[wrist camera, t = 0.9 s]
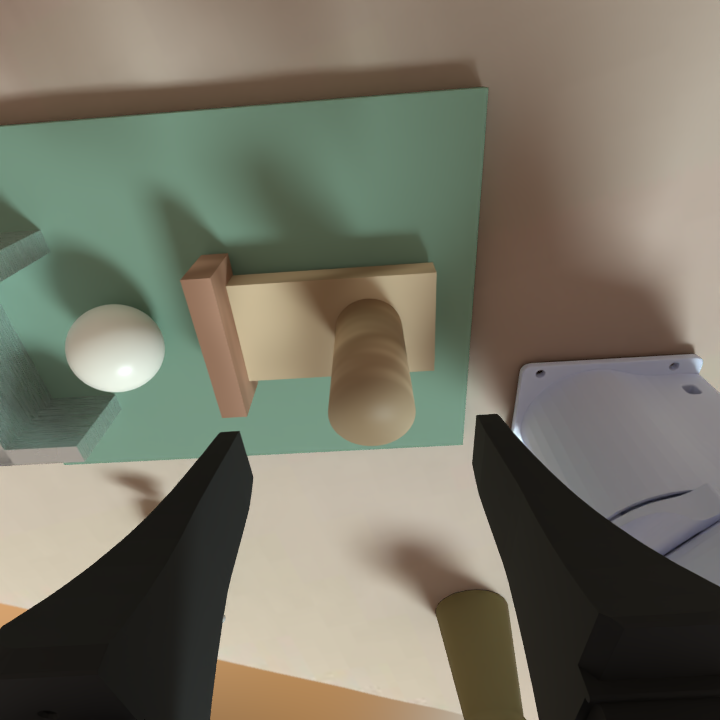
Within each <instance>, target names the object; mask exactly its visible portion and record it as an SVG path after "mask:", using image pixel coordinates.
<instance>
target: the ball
mask: <svg viewBox="0 0 720 720" xmlns="http://www.w3.org/2000/svg"><path fill="white" fill-rule="evenodd" d="M65 354H66V358H67V362H68V364H69V366H70V368H71V370H72V371H73V372H74V374H75V375H76V376H77V377H78V378H79V379H80V380H81V381H83V382H84V383H85V384H87V385H89V386H91V387H93V388H95V389H98V390H101V391H106V392H125V391H130V390H133V389H136V388H138V387H140V386H142V385H144V384H145V383H147V382H148V381H149V380H151V379H152V378H153V377H154V376H155V374H156V373H157V372H158V370H159V369H160V367H161V365H162V362H163V359H164V355H165V343H164V339H163V335H162V333H161V331H160V329H159V327H158V326H157V324H156V323H155V322H154V321H153V320H152V319H151V318H150V317H149V316H148V315H147V314H145V313H144V312H142V311H140V310H138V309H136V308H133V307H130V306H126V305H120V304H109V305H102V306H99V307H95V308H93V309H91V310H89V311H87V312H85V313H84V314H82V315H81V316H80V317H79V318H78V319H77V320H76V321H75V322H74V323H73V325H72V326H71V328H70V329H69V331H68V334H67V337H66V341H65Z"/></svg>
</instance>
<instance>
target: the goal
mask: <svg viewBox="0 0 720 720" xmlns="http://www.w3.org/2000/svg"><path fill="white" fill-rule="evenodd" d="M48 253H50V250H49V247H48V245H47V243H46V241H45V239H44V236H43V234H42V232H41V230H32V231H18V232H4V233H0V282H1V281H3V280H5V279H6V278H8V277H10V276H11V275H13V274H15V273H16V272H18V271H20V270H21V269H23V268H25V267H27V266H28V265H30V264H32V263H33V262H35V261H37V260H38V259H40V258H42V257H43V256H45V255H47V254H48ZM121 409H122V408H121V406H120V404H119V402H118V400H117V397H116V395H101V396H83V397H65V398H52V396H51V394H50V393H49V391H48V389H47V387H46V385H45V383H44V382H43V380H42V378H41V376H40V374H39V373H38V371H37V369H36V367H35V365H34V363H33V362H32V360H31V358H30V356H29V354H28V353H27V351H26V349H25V347H24V345H23V343H22V342H21V340H20V338H19V336H18V334H17V333H16V331H15V329H14V327H13V325H12V324H11V322H10V320H9V318H8V316H7V314H6V313H5V311H4V309H3V307H2V305H1V304H0V466H11V465H31V464H51V463H70V462H85V461H86V460H87V458H88V457H89V455H90V454H91V452H92V451H93V450H94V448H95V447H96V445H97V444H98V442H99V441H100V440H101V438H102V437H103V435H104V434H105V432H106V431H107V430H108V428H109V427H110V425H111V424H112V422H113V421H114V420H115V418H116V417H117V415H118V414H119V412H120V411H121Z"/></svg>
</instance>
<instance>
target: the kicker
mask: <svg viewBox="0 0 720 720" xmlns="http://www.w3.org/2000/svg"><path fill="white" fill-rule="evenodd" d="M436 278H437V272H436V270H435V267H434V264H433V262H430V263H414V264H399V265H384V266H369V267H354V268H338V269H323V270H308V271H293V272H278V273H263V274H247V275H233V273H232V268H231V264H230V260H229V256H228V253H225V254H210V255H201V256H200V257H199V258H198V259H197V261H196V262H195V263H194V264H193V265H192V267H191V268H190V269H189V270H188V271H187V272H186V274H185V275H184V276H183V277H182V278H181V279H180V282H181V285H182V288H183V292H184V295H185V298H186V301H187V305H188V308H189V311H190V315H191V318H192V321H193V324H194V328H195V331H196V334H197V338H198V341H199V344H200V347H201V351H202V354H203V357H204V361H205V364H206V367H207V370H208V374H209V377H210V380H211V384H212V387H213V390H214V393H215V397H216V400H217V403H218V407H219V410H220V413H221V416H222V418H233V417H247V415H248V412H249V409H250V406H251V403H252V400H253V397H254V394H255V391H256V388H257V385H258V381H260V380H277V379H295V378H313V377H330V376H331V384H330V395H329V406H328V418H329V421H330V424H331V426H332V427H333V429H334V430H335V431H336V433H337V434H339V435H340V436H341V437H342V438H344V439H345V440H347V441H349V442H352V443H355V444H358V445H363V446H380V445H385V444H388V443H391V442H393V441H395V440H397V439H399V438H400V437H402V436H403V435H404V434H405V433H407V431H408V430H409V429H410V428H411V426H412V424H413V422H414V419H415V414H416V409H415V402H414V396H413V390H412V383H411V377H410V372H418V371H434V362H435V320H436Z"/></svg>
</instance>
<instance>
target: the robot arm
mask: <svg viewBox="0 0 720 720" xmlns="http://www.w3.org/2000/svg"><path fill="white" fill-rule="evenodd" d="M672 363H674V364H673V365H672V366H670V365H671V364H672ZM702 365H703V360H702V359H701V358H700V357H699V356H698V355H696V354H684V355H667V356H649V357H631V358H614V359H596V360H579V361H561V362H543V363H529V364H526V365H524V366H523V367H522V368H521V370H520V374H519V381H518V388H517V395H516V401H515V408H514V415H513V422H512V428H511V429H510V428H509V427H508V425H507V424H506V423H505V422H504V421H503V420H502V418H501V417H500V416H499V415H498V414H488V415H476V426H475V438H474V449H473V460H472V465H473V470H474V474H475V479H476V484H477V488H478V492H479V496H480V499H481V502H482V505H483V508H484V511H485V514H486V516H487V519H488V522H489V525H490V528H491V531H492V533H493V536H494V539H495V542H496V545H497V548H498V550H499V553H500V556H501V559H502V562H503V565H504V568H505V572H506V575H507V578H508V582H509V586H510V590H511V594H512V598H513V602H514V607H515V611H516V615H517V619H518V624H519V628H520V632H521V636H522V641H523V645H524V650H525V654H526V659H527V664H528V668H529V673H530V678H531V682H532V687H533V692H534V697H535V702H536V707H537V712H538V717H539V720H720V393H719V392H718V391H717V390H716V389H715V388H714V387H713V386H711V385H710V384H709V383H708V382H707V381H706V380H705V379H704V378H703V377H701V376H700V375H699V372H700V370H701V367H702ZM539 370H543V371H542V372H541V373H539V374H536V372H538V371H539ZM252 484H253V474H252V471H251V468H250V464H249V461H248V457H247V454H246V451H245V447H244V444H243V440H242V437H241V434H240V431H229V432H220V433H219V434H218V435H217V436H216V437H215V439H214V440H213V441H212V442H211V444H210V445H209V446H208V447H207V449H206V450H205V451H204V452H203V454H202V455H201V456H200V457H199V459H198V460H197V461H196V462H195V464H194V465H193V466H192V467H191V468H190V470H189V471H188V472H187V473H186V474H185V476H184V477H183V478H182V479H181V480H180V482H179V483H178V484H177V485H176V486H175V487H174V489H173V490H172V491H171V492H170V493H169V494H168V495H167V496H166V497H165V498H164V499H163V501H162V502H161V503H160V504H159V505H158V506H157V507H156V508H155V509H154V510H153V511H152V512H151V513H150V514H149V515H148V516H147V517H146V518H145V519H144V520H143V521H142V522H141V523H140V524H139V525H138V526H137V527H136V528H135V529H134V530H133V531H132V532H131V533H130V534H128V535H127V536H126V537H125V538H124V539H123V540H122V541H121V542H119V543H118V544H117V545H116V546H115V547H113V548H112V549H111V550H110V551H108V552H107V553H106V554H105V555H104V556H102V557H101V558H100V559H99V560H98V561H96V562H95V563H94V564H93V565H91V566H90V567H89V568H88V569H86V570H85V571H84V572H82V573H81V574H80V575H78V576H77V577H76V578H74V579H73V580H71V581H70V582H69V583H67V584H66V585H64V586H63V587H62V588H60V589H59V590H57V591H56V592H55V593H53V594H52V595H50V596H49V597H47V598H46V599H44V600H43V601H41V602H40V603H38V604H37V605H35V606H33V607H32V608H30V609H29V610H27V611H26V612H24V613H23V614H21V615H19V616H18V617H16V618H15V619H13V620H12V621H10V622H9V623H7V624H5V625H3V626H2V627H1V629H0V720H210V714H211V704H212V696H213V688H214V679H215V672H216V663H217V657H218V650H219V643H220V636H221V629H222V623H223V617H224V611H225V604H226V598H227V593H228V588H229V584H230V579H231V575H232V572H233V568H234V564H235V560H236V557H237V553H238V549H239V546H240V542H241V538H242V534H243V531H244V527H245V523H246V519H247V515H248V511H249V506H250V500H251V492H252Z"/></svg>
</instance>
